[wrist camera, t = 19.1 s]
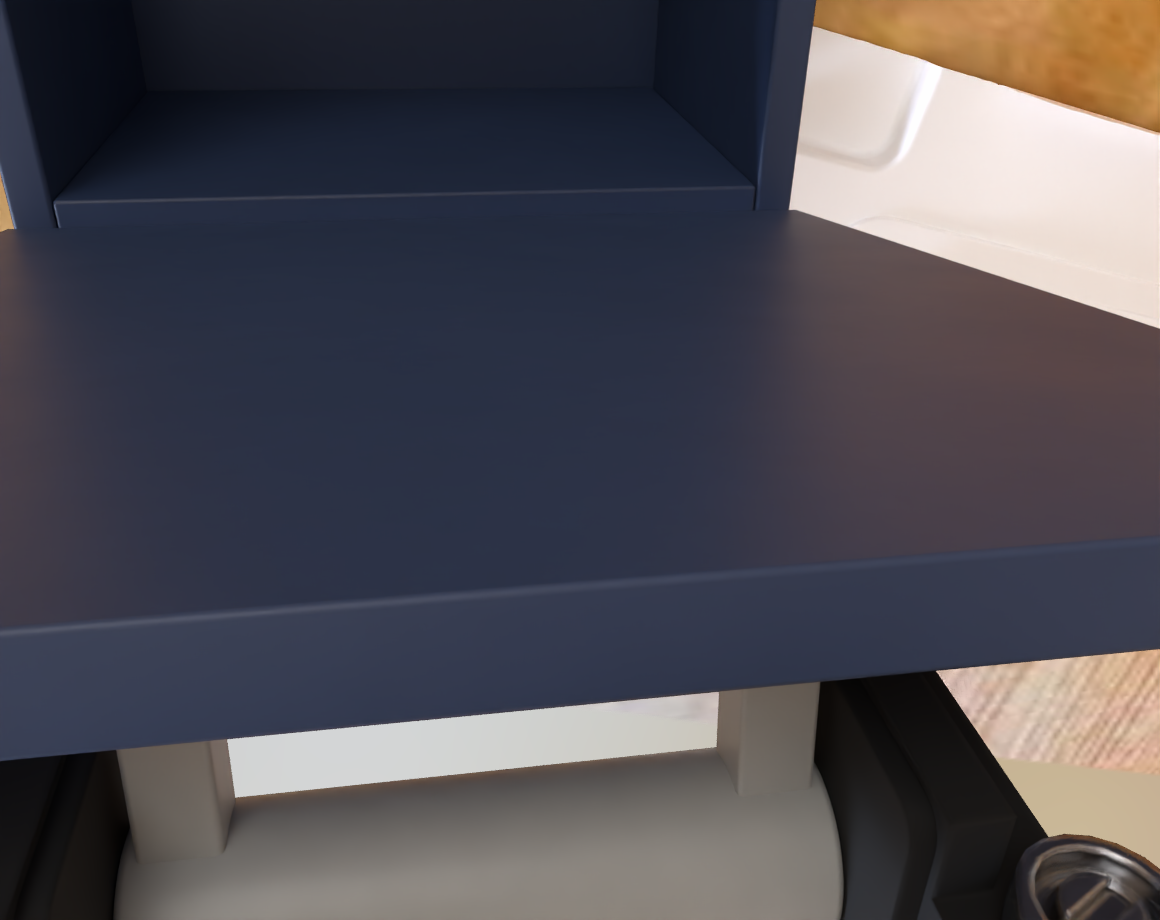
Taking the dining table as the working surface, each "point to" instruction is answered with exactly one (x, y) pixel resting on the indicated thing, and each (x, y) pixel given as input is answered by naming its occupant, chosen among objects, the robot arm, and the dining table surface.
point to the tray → (981, 175)
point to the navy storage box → (396, 109)
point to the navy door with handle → (535, 534)
